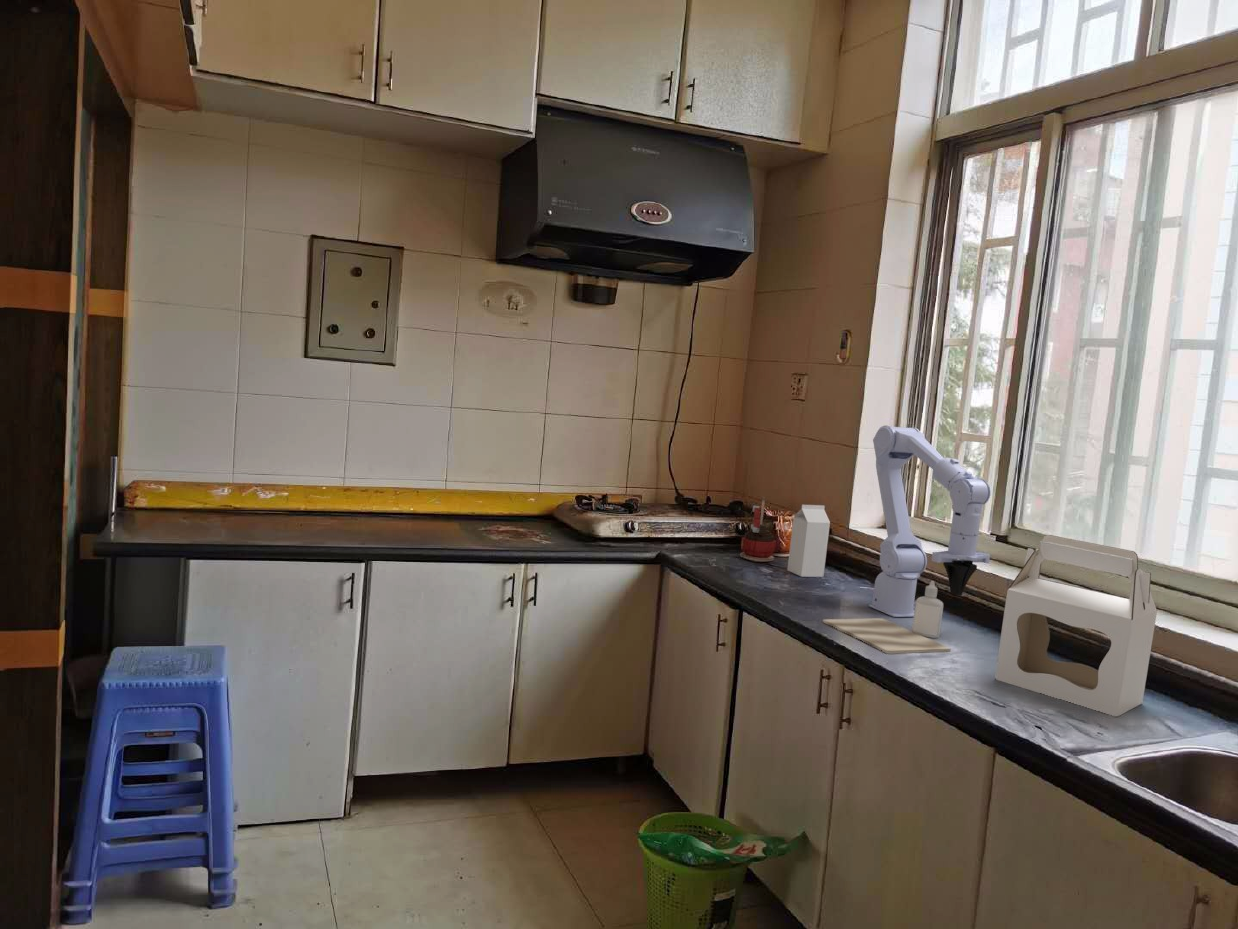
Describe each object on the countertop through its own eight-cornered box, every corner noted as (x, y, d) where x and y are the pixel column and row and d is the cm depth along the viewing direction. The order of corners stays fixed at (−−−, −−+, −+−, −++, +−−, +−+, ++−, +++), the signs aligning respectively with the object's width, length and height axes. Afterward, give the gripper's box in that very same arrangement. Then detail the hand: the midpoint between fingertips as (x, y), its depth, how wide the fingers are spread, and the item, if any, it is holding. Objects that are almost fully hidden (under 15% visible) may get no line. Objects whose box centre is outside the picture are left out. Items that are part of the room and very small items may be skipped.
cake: (775, 565, 268) (783, 502, 267) (742, 562, 269) (749, 498, 267) (770, 557, 279) (777, 496, 277) (738, 554, 279) (745, 493, 277)
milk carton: (823, 577, 258) (832, 507, 256) (800, 577, 256) (809, 507, 254) (809, 571, 265) (817, 503, 263) (786, 570, 262) (795, 502, 260)
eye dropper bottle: (928, 639, 204) (936, 584, 203) (908, 632, 209) (915, 578, 208) (942, 638, 207) (950, 583, 205) (922, 630, 211) (929, 577, 210)
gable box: (992, 679, 180) (1013, 532, 177) (1022, 668, 190) (1042, 529, 187) (1118, 718, 165) (1143, 558, 162) (1143, 704, 174) (1168, 553, 171)
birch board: (822, 622, 210) (823, 619, 210) (881, 620, 217) (882, 618, 217) (887, 653, 190) (887, 651, 190) (950, 651, 197) (950, 648, 197)
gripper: (951, 536, 202) (942, 599, 203) (1003, 537, 207) (994, 599, 209) (928, 530, 208) (920, 591, 210) (979, 531, 214) (971, 590, 215)
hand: (955, 594), depth 210 cm, fingers closed
